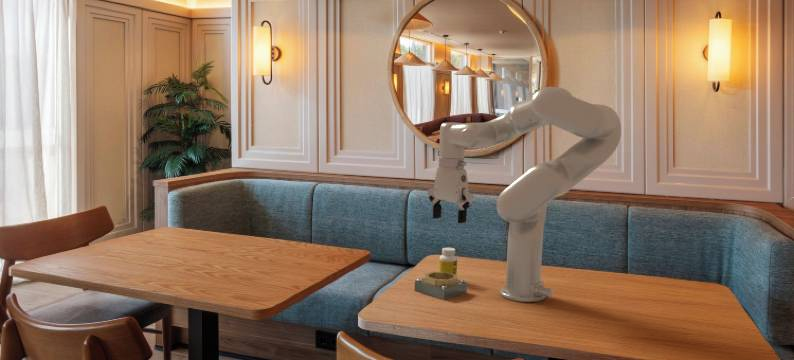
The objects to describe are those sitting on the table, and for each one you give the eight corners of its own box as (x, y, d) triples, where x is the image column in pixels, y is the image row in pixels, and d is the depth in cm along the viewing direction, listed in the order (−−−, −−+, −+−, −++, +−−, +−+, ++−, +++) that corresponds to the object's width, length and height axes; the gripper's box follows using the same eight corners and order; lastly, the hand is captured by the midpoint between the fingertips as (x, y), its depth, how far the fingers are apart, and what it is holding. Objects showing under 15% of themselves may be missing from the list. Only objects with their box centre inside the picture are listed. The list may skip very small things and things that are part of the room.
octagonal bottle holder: (466, 292, 170) (467, 276, 169) (444, 299, 162) (444, 283, 162) (437, 284, 177) (437, 269, 177) (414, 290, 170) (414, 275, 169)
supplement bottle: (455, 283, 178) (456, 251, 177) (437, 282, 179) (438, 250, 178) (457, 278, 183) (458, 247, 182) (439, 277, 185) (440, 246, 183)
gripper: (482, 165, 174) (479, 223, 176) (437, 161, 186) (435, 214, 188) (466, 167, 169) (464, 226, 171) (421, 162, 181) (419, 217, 183)
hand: (449, 220), depth 179 cm, fingers open, 9 cm apart
